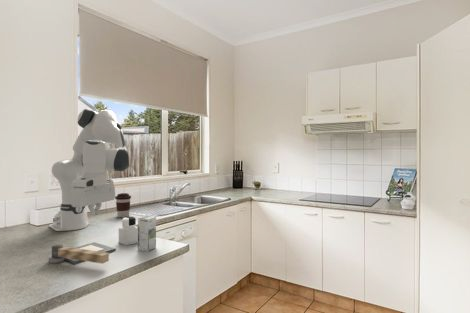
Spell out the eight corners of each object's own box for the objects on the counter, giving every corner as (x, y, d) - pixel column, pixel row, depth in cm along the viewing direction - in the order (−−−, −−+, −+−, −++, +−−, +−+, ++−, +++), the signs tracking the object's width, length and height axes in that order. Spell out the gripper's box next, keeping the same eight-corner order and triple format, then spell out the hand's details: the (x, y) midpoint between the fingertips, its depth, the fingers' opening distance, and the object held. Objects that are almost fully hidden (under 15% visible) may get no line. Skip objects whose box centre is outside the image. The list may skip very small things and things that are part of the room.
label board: (40, 259, 119) (40, 255, 119) (94, 244, 138) (94, 241, 138) (61, 268, 110) (61, 264, 110) (115, 250, 130) (115, 247, 130)
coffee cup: (126, 218, 191) (126, 195, 191) (112, 217, 193) (112, 194, 193) (133, 214, 201) (133, 193, 201) (120, 214, 203) (120, 192, 202)
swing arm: (49, 257, 116) (49, 247, 116) (58, 253, 120) (58, 243, 120) (101, 265, 108) (101, 254, 108) (109, 261, 112) (109, 251, 112)
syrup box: (145, 246, 136) (145, 215, 135) (156, 247, 133) (156, 216, 133) (137, 250, 130) (137, 217, 130) (148, 252, 128) (148, 218, 128)
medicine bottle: (131, 239, 147) (131, 215, 146) (139, 241, 142) (139, 217, 142) (118, 242, 141) (118, 217, 141) (126, 245, 137) (126, 219, 136)
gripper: (107, 177, 129) (107, 209, 129) (67, 182, 109) (67, 219, 109) (118, 178, 127) (118, 210, 127) (80, 183, 107) (80, 221, 108)
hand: (94, 214), depth 118 cm, fingers closed
